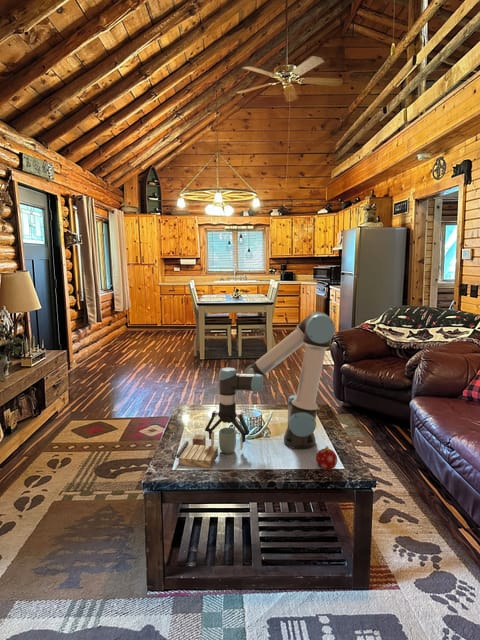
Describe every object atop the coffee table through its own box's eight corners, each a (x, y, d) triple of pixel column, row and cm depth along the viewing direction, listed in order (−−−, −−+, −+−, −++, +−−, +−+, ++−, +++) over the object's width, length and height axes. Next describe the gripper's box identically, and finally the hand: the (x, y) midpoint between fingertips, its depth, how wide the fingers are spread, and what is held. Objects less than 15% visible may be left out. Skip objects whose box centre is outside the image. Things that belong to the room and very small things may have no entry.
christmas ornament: (322, 462, 178) (322, 440, 177) (340, 468, 172) (341, 445, 171) (312, 469, 171) (312, 446, 170) (330, 476, 166) (331, 452, 165)
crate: (205, 445, 195) (205, 435, 194) (203, 449, 190) (203, 439, 189) (195, 444, 195) (195, 434, 195) (192, 449, 190) (192, 438, 190)
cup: (234, 456, 183) (234, 435, 182) (217, 454, 184) (217, 433, 183) (237, 448, 190) (237, 428, 189) (221, 447, 192) (221, 426, 191)
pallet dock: (218, 452, 186) (217, 443, 186) (210, 467, 172) (210, 457, 172) (186, 450, 189) (186, 440, 188) (176, 464, 175) (176, 454, 175)
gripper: (256, 401, 186) (255, 446, 189) (202, 397, 190) (202, 441, 193) (253, 407, 179) (252, 453, 181) (198, 403, 183) (198, 448, 186)
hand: (226, 447), depth 187 cm, fingers open, 13 cm apart
